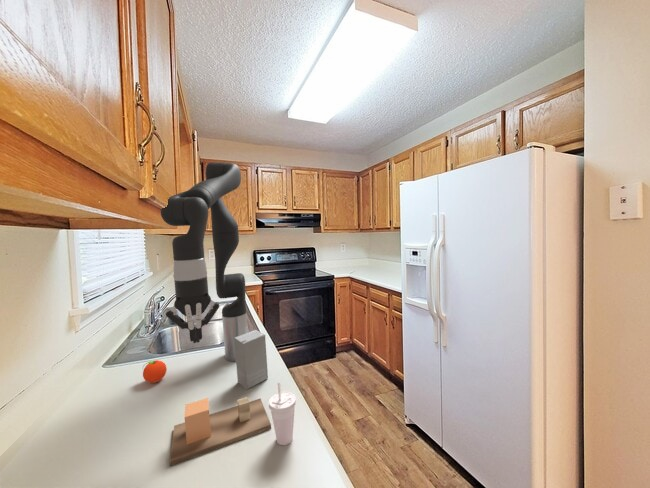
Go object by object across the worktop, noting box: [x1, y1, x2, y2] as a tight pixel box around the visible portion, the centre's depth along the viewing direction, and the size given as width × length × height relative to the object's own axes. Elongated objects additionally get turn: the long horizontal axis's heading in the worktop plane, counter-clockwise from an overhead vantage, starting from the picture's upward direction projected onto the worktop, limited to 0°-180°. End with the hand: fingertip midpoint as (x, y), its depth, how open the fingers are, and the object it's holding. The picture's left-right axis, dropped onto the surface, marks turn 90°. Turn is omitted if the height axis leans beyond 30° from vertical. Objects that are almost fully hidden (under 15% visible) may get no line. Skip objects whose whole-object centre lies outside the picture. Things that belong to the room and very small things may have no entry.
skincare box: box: [234, 329, 269, 390], centre depth 88 cm, size 8×7×16 cm
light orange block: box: [184, 397, 211, 444], centre depth 65 cm, size 5×5×7 cm
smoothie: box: [268, 381, 297, 446], centre depth 63 cm, size 6×6×14 cm
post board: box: [169, 396, 272, 467], centre depth 68 cm, size 12×22×6 cm, turn 116°
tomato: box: [142, 359, 168, 384], centre depth 92 cm, size 8×7×7 cm
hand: (196, 341), depth 70 cm, fingers closed
